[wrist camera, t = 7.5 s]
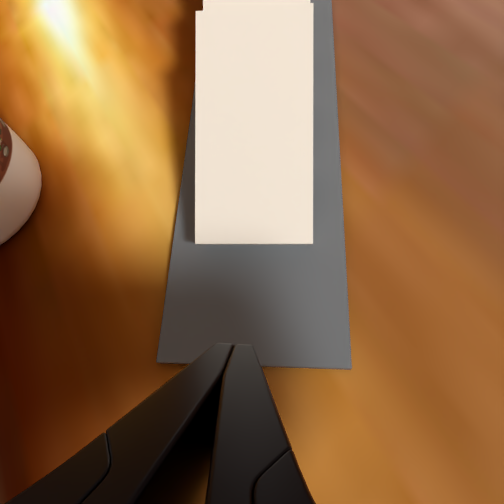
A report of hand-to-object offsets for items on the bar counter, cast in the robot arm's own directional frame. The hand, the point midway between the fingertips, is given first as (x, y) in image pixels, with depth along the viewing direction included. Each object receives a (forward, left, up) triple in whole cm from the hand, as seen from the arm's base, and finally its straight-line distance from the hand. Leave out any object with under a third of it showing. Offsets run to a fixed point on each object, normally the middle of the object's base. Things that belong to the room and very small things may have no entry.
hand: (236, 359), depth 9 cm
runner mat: (+11, +7, -8) cm, 15 cm away
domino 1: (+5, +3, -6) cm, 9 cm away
